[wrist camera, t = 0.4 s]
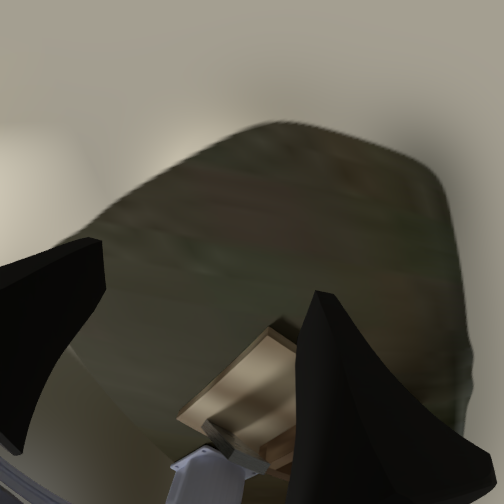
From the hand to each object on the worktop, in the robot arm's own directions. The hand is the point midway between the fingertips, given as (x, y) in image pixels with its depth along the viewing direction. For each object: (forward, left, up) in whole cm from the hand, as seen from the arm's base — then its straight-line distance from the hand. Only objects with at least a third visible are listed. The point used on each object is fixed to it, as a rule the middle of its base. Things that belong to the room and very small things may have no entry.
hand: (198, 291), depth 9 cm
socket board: (-12, -15, -10) cm, 22 cm away
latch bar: (-14, -10, -6) cm, 18 cm away
